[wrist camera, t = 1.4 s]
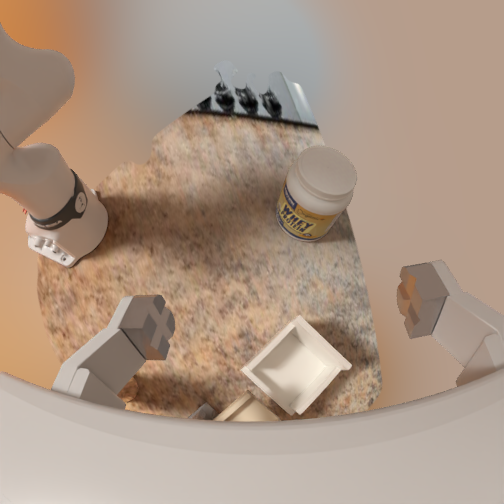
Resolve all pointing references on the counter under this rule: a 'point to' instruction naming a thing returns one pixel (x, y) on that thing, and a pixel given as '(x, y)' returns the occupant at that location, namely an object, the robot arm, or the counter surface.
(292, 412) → the cream open-top tray
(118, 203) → the counter surface
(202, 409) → the fulcrum
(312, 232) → the supplement tub
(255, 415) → the lever
